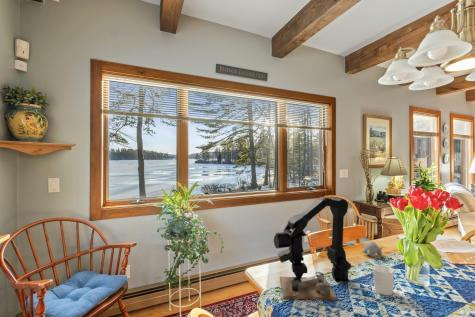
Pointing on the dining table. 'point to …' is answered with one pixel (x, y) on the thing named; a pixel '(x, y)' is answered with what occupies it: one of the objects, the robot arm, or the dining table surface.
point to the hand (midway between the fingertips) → (296, 278)
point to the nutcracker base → (307, 290)
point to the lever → (307, 281)
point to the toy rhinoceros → (372, 249)
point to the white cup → (383, 279)
